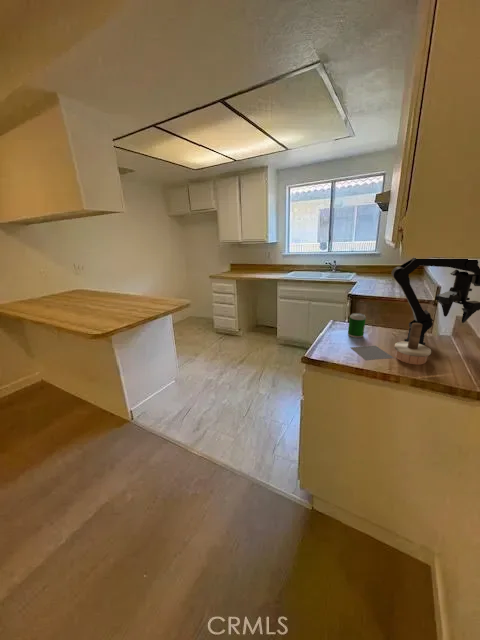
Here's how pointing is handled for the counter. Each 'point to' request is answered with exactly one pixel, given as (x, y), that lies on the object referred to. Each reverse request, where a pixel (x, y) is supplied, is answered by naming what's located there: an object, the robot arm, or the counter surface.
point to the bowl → (410, 358)
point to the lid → (413, 343)
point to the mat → (371, 352)
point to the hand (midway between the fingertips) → (453, 319)
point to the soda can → (356, 325)
